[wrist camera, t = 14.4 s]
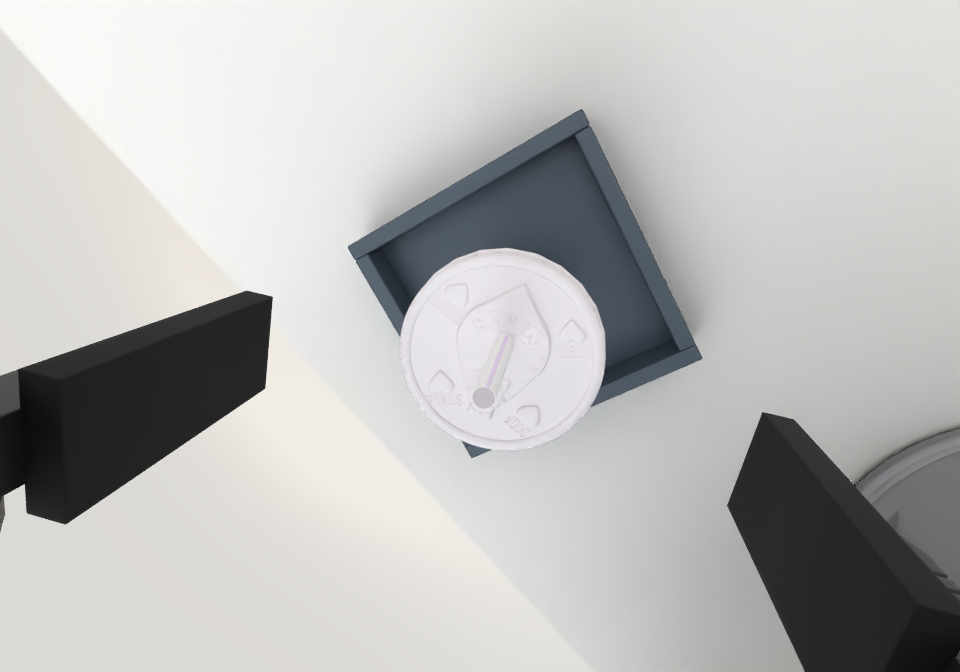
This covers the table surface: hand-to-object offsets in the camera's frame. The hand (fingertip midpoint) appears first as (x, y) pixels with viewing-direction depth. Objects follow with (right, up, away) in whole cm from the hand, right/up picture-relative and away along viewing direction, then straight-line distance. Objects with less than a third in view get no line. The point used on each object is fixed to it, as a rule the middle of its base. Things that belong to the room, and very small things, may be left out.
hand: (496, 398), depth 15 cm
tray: (+2, +4, +12) cm, 13 cm away
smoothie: (+2, +4, +11) cm, 12 cm away
